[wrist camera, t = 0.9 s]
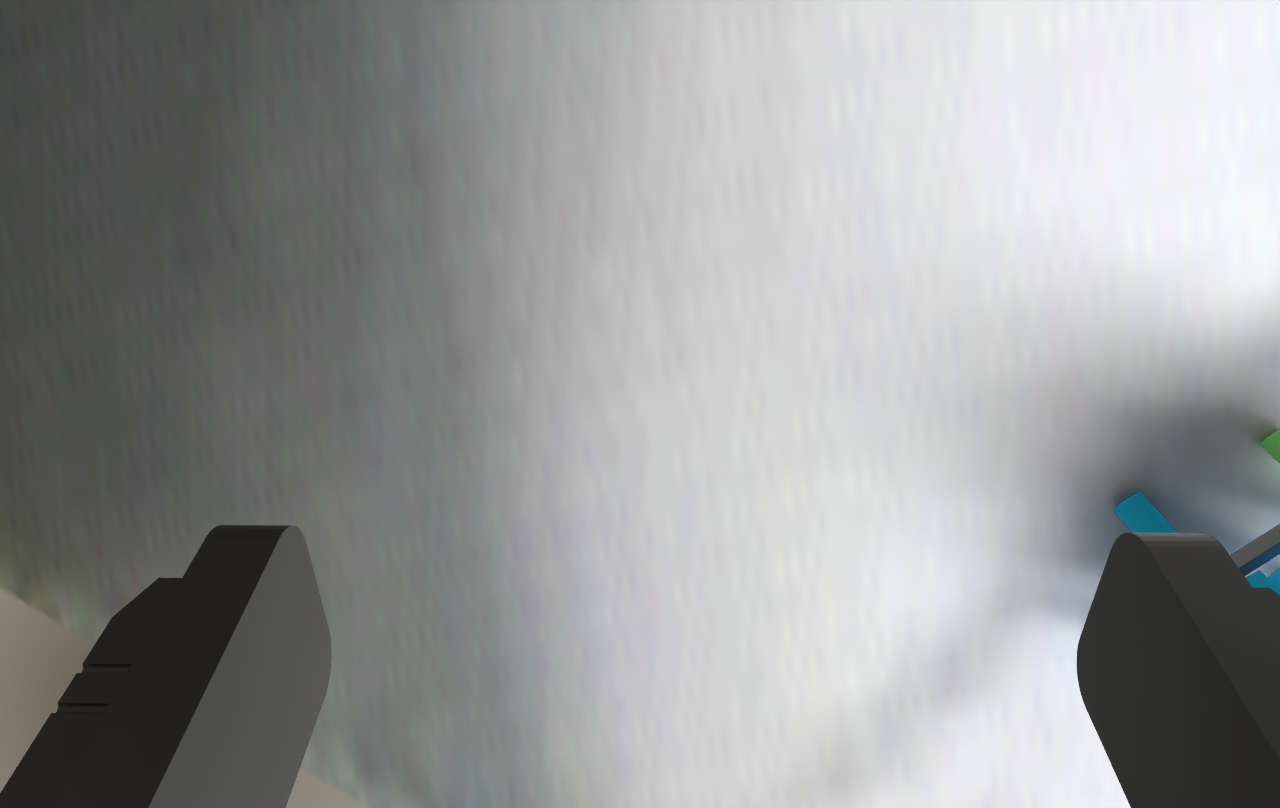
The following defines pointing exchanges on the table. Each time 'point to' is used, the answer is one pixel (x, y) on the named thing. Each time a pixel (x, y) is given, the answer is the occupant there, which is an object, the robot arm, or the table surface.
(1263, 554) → the gear
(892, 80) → the table surface
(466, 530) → the table surface
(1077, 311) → the table surface
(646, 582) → the table surface
